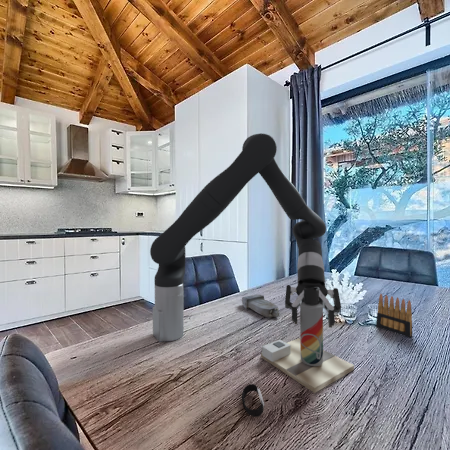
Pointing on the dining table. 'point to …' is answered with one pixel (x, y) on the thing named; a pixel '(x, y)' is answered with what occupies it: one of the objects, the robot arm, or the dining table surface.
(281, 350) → the block
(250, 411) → the watch
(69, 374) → the dining table surface
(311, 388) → the plywood panel
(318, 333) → the lotion bottle
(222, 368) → the dining table surface
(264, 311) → the handheld device
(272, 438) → the dining table surface
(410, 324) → the ammunition clip
